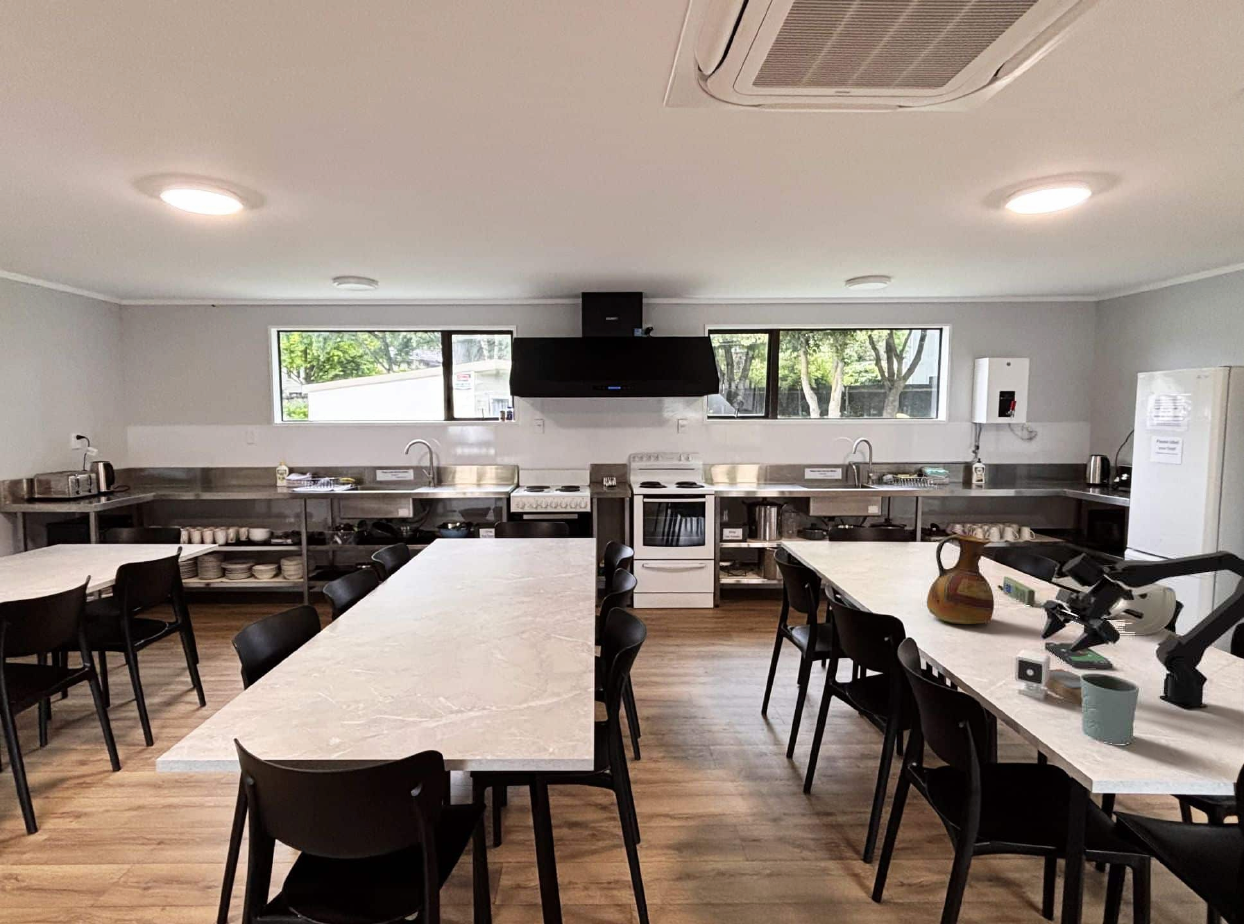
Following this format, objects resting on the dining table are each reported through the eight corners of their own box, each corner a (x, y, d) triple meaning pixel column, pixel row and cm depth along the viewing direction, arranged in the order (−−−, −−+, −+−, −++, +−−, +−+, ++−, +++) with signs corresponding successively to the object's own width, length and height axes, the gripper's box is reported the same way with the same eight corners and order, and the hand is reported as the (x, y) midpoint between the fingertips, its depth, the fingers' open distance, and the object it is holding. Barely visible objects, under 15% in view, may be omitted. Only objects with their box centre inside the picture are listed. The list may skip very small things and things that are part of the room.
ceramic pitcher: (999, 633, 203) (1002, 541, 201) (930, 626, 210) (933, 538, 208) (985, 615, 222) (988, 531, 220) (923, 610, 228) (925, 528, 226)
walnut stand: (1110, 703, 152) (1111, 689, 152) (1078, 706, 151) (1079, 692, 150) (1060, 680, 166) (1061, 667, 166) (1031, 682, 164) (1031, 669, 164)
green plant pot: (1086, 742, 134) (1088, 687, 133) (1071, 721, 143) (1073, 669, 142) (1144, 750, 130) (1147, 694, 129) (1125, 728, 140) (1128, 676, 139)
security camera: (1014, 694, 157) (1015, 655, 156) (1020, 686, 162) (1021, 648, 162) (1044, 702, 153) (1045, 662, 152) (1049, 693, 158) (1050, 654, 157)
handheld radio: (1025, 607, 232) (994, 589, 257) (1035, 607, 232) (1002, 589, 256) (1027, 589, 232) (995, 573, 256) (1036, 590, 231) (1004, 573, 256)
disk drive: (1043, 651, 189) (1073, 669, 174) (1044, 642, 189) (1073, 659, 174) (1080, 652, 188) (1113, 671, 173) (1080, 643, 187) (1114, 661, 173)
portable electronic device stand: (1177, 635, 201) (1179, 587, 200) (1107, 637, 199) (1109, 589, 198) (1110, 611, 226) (1112, 569, 225) (1047, 612, 225) (1049, 570, 224)
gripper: (1050, 569, 166) (1009, 611, 166) (1111, 588, 147) (1065, 635, 147) (1077, 598, 167) (1036, 639, 167) (1140, 620, 149) (1095, 667, 148)
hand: (1056, 644), depth 157 cm, fingers open, 9 cm apart
